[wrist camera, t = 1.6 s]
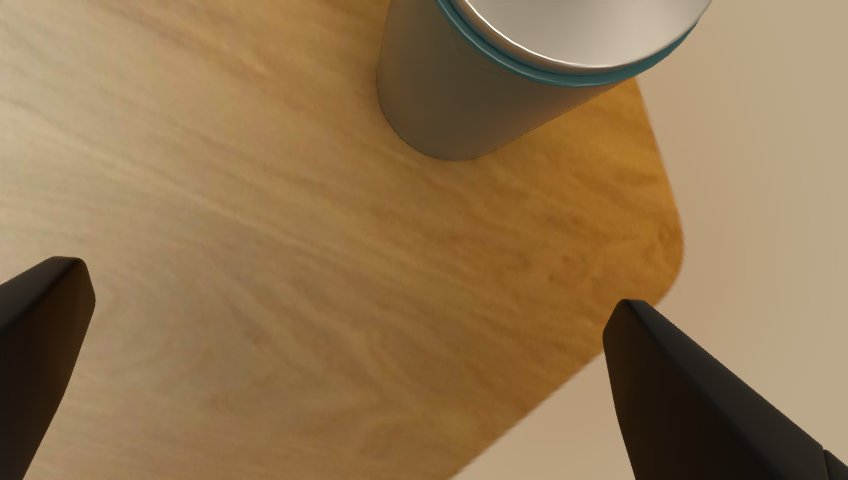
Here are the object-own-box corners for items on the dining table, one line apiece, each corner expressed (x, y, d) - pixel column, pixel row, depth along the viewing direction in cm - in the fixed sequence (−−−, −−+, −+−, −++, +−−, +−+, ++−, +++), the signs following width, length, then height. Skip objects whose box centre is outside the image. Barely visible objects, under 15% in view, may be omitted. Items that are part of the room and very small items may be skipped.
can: (552, 125, 24) (794, 5, 11) (415, 185, 23) (500, 132, 10) (492, -18, 23) (673, -325, 10) (350, 38, 22) (353, -217, 9)
